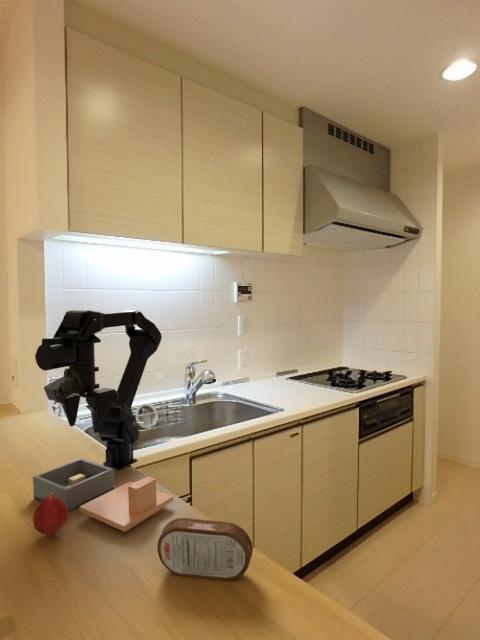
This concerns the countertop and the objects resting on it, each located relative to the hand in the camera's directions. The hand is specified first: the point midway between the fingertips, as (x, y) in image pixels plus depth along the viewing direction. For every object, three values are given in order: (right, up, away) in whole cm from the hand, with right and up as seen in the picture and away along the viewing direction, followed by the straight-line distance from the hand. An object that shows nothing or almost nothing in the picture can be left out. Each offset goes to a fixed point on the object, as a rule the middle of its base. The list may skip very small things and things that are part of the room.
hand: (84, 429), depth 95 cm
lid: (+14, -14, -13) cm, 24 cm away
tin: (+31, -15, -32) cm, 47 cm away
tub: (0, -13, -5) cm, 14 cm away
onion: (+2, -14, -21) cm, 25 cm away
